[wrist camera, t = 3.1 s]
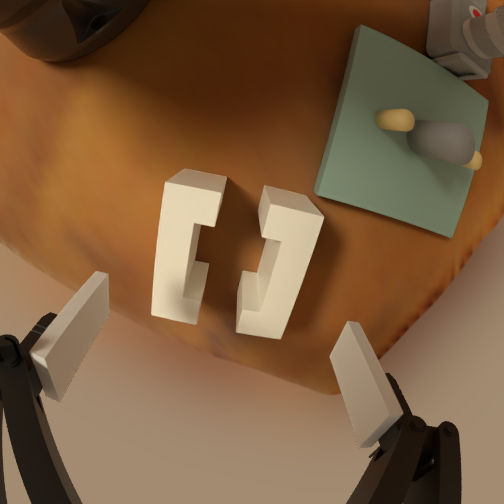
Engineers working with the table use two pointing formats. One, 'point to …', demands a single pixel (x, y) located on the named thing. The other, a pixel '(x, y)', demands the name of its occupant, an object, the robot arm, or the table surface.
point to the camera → (465, 37)
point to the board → (402, 136)
